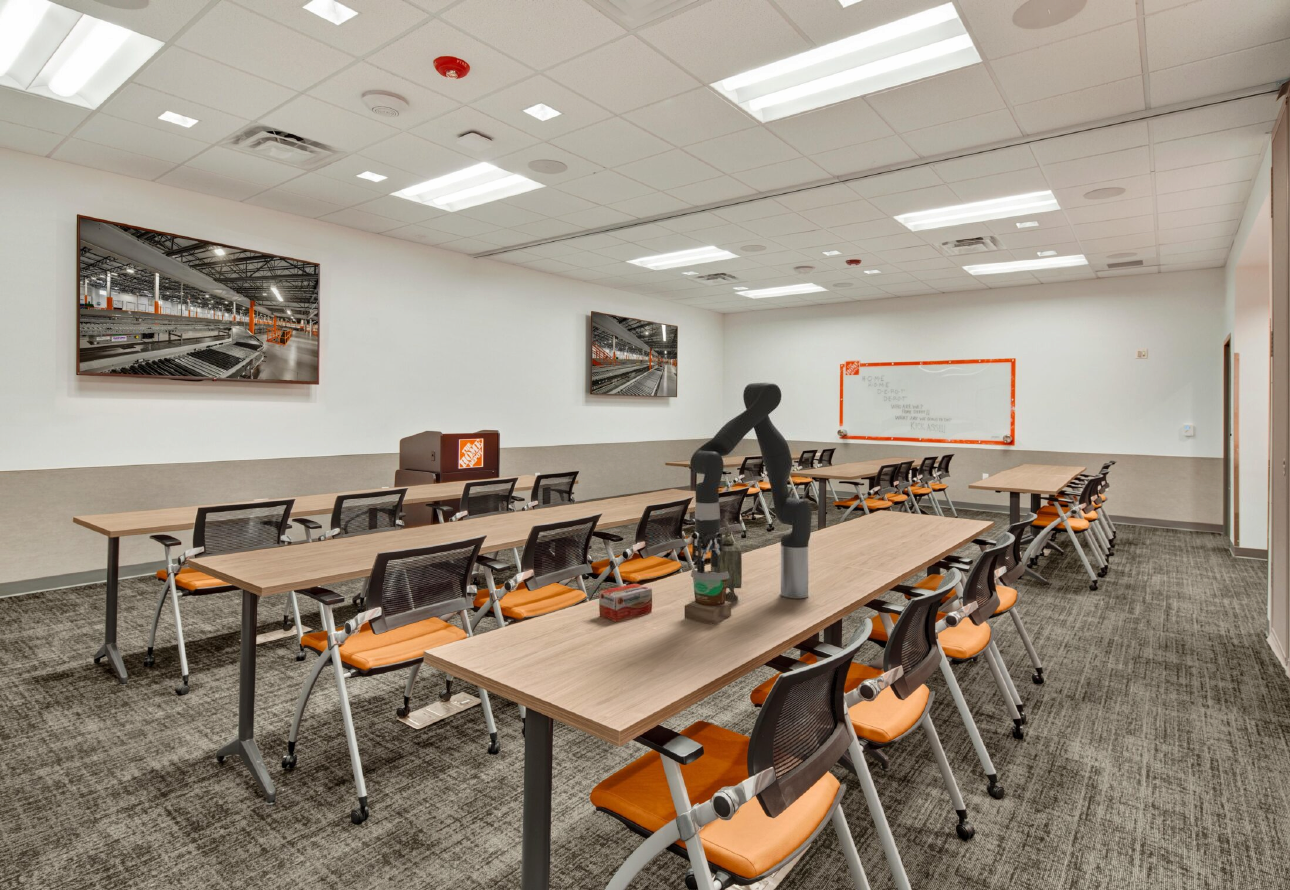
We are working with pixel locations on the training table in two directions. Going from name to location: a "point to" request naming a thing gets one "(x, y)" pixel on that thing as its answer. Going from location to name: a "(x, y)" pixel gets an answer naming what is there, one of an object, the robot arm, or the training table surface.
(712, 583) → the food container
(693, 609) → the plinth
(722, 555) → the tabletop clock
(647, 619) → the training table surface
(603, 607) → the medicine box
